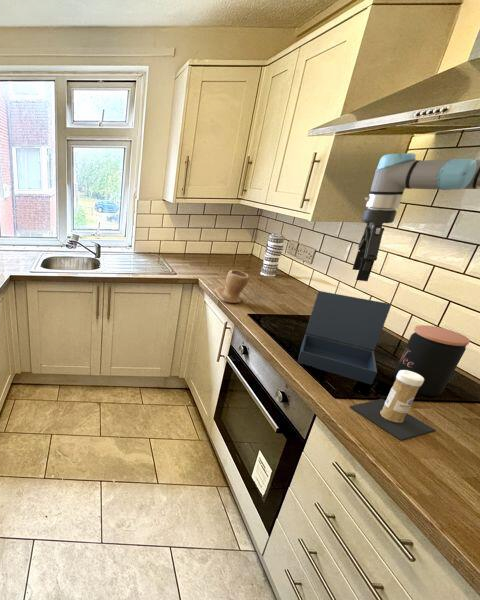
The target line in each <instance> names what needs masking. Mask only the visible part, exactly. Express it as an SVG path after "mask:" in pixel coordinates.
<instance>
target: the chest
mask: <svg viewBox="0 0 480 600" xmlns="http://www.w3.org/2000/svg"><path fill="white" fill-rule="evenodd" d="M297 364H301V365H303V364H305V365H304V366H307V365H308V366H307V367H310V366H312V367H311V368H313V367H314V368H313V369H317V370H320V371H323V372H327V373H330V374H334V375H337V376H340V377H344V378H347V379H351V380H353V381H358V382H360V383H364V384H367V385H372V386H373V383H374V381H375V378H376V375H377V374H378V368H377V363H376V356H375V350H371V349H367V348H363V347H359V346H355V345H351V344H347V343H343V342H339V341H335V340H331V339H327V338H323V337H319V336H315V335H311V334H307V333H305V334H304V337H303V339H302V343H301V346H300V350H299V354H298V358H297Z"/></svg>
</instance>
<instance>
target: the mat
mask: <svg viewBox="0 0 480 600" xmlns="http://www.w3.org/2000/svg"><path fill="white" fill-rule="evenodd" d="M385 401H386V399H384V398H379V399H374V400H370V401H367V402H362V403H358V404H353V405H349V408H350V409H351V410H353V411H354V412H356V413H357V414H358V415H360V416H361V417H363V418H365V419H367V420H368V421H369V422H371V423H372V424H374V425H376V426H377V427H379V428H380V429H382V430H383V431H384V432H385V433H388V434H389V435H391V436H392V437H394V438H395V439H397V440H398V441H399V442H402V441H406V440H409V439H412V438H416V437H419V436H423V435H426V434H430V433H434V432H436V429H435V428H434V427H432V426H430V425H428V424H427V423H425V422H423V421H422V420H420V419H418V418H416V417H415V416H413V415H411V414H409V413H408V412H407V413H406V415H405V417H404V419H403V422H402V423H395V422H391V421H389V420H387V419H385V418H384V417H382V415H381V414H380V411H381V410H382V409H383V407H384V404H385Z"/></svg>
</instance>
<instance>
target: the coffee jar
mask: <svg viewBox="0 0 480 600" xmlns="http://www.w3.org/2000/svg"><path fill="white" fill-rule="evenodd" d="M413 330H414V332H413V333H412V334H411V335H410V337H409V339H408V342H407V343H406V345H405V348H404V350H403V352H402V354H401V357H400V358H399V361H398V363H397V365H396V368H395V369H394V372H393V374H392V377H393V380H394V382H395V381H396V376H397V374H398V372H399V371H400V370H408V371H412V372H415V373H417V374H419V375H421V376H422V377H423V378H424V382H423V384H422V385H421V386H420V387H419V389H418V391H417V393H416V395H421V396H425V397H435V396H438V395H441V394H442V393H443V392H444V390H445V388H446V387H447V385H448V383H449V381H450V379H451V377H452V375H453V374H454V372H455V370H456V369H457V366H458V365H459V363H460V361H461V359H462V357H463V355H464V354H465V352H466V349H467V348H466V346H468V345H469V344H470V342H471V340H470V338H468V337H467V336H466V335H463V334H462V333H460V332H457V331H454V330H451V329H447V328H444V327H439V326H434V325H427V324H425V325H424V324H420V325H416V326H415V327H414V329H413Z"/></svg>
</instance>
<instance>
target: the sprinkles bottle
mask: <svg viewBox="0 0 480 600" xmlns="http://www.w3.org/2000/svg"><path fill="white" fill-rule="evenodd" d="M423 382H424V378H423V377H422V376H421V375H419V374H417V373H415V372H412V371H408V370H400V371H399V372H398V374H397V376H396V381H395V380H394V382H393V385H392V387H391V388H390V390H389V393H388V395H387V397H386V399H385V404H384V407H383V409H382V410H381V411H380V414H381V415H382V417H384V418H385V419H387V420H389V421H391V422H395V423H402V422H403V419H404V417H405V415H406V413H408V412H409V410H410V408H411V406H412V404H413V402H414V400H415V398H416V395H417V391H418V389H419V387H420V386H421V385H422V384H423Z"/></svg>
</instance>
